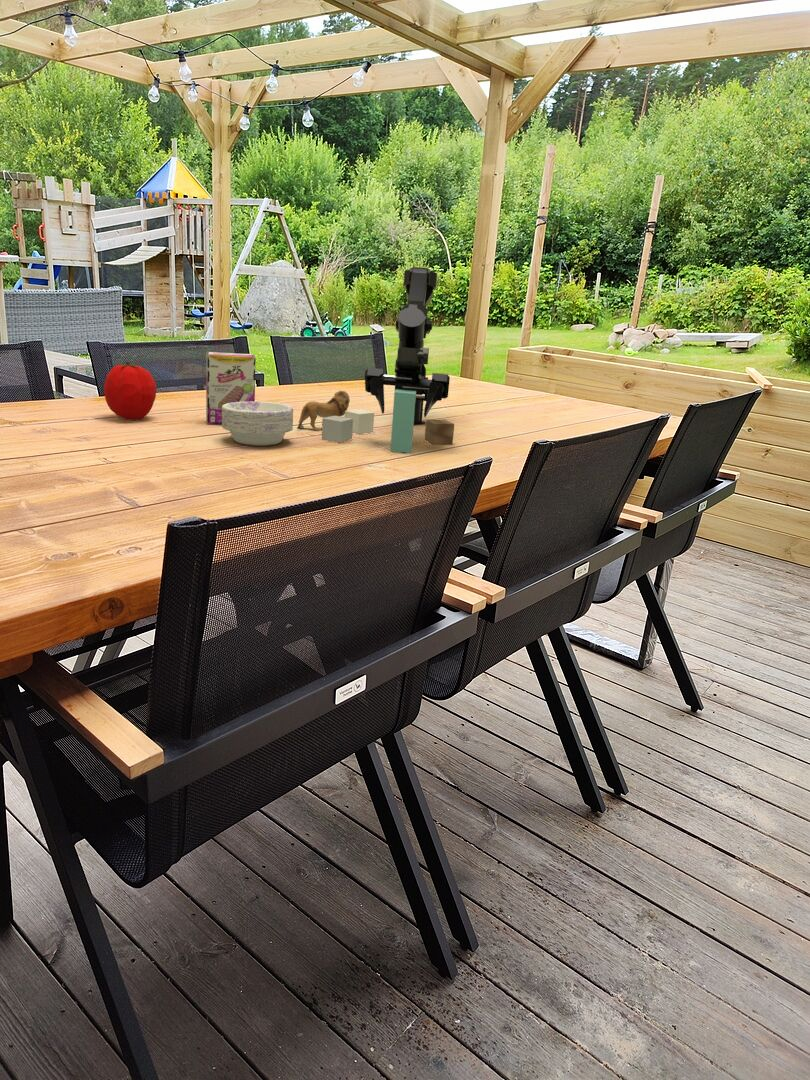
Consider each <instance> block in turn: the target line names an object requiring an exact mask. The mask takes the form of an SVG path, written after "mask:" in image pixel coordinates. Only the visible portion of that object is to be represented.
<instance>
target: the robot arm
mask: <svg viewBox="0 0 810 1080" xmlns="http://www.w3.org/2000/svg"><path fill="white" fill-rule="evenodd" d="M403 274H404V275H403V288H406V289H405V291H406V292H405V293H406V298H407V302H406V304H404V305H403V306H402V307H401V310H400V312H399V314H398V315H397V317H396V320H395V331H396V332H398V339H399V340H398V348H397V355H396V360H395V363H394V373H395V375H389V374H384V368H377V367H375V368H374V367H368V368H367V369H366V370H365V372H364V388H365V392H366V393H370V395H371V396H373V397H375V398H376V400H377V401H378V405H379V407H380V412H381V414H384V413H385V387H384V386H394V391H395V390H396V389H399V390H411V391H416V400H415V413H414V425H422V424H424V425H425V424H426V420H423V417H424V418H426V417H427V415H428V414H429V412H430V410H431V409H432V407H434V405H435V404H436V403H437V402H438V401H439V402H441V401H442V400H443V399H444V400H445V399H447V398H448V397H449V391H450V389H449V388H450V382H451V381H450V375H449V374H448V373H438V372H436V373H435V372H432V375H431V379H429V377H427V368H426V367H425V366H426V365H428V364H429V354H430V353H429V352H430V348H429V347H425V346H424V345H425V341H424V340H425V339H426V338H427V335H430V333H431V330H432V331H433V323H432V320H431V318H429V314H428V313H429V308H427V306H428V305H429V304H430V302H431V301H432V300H433V297H434V291H436V290H437V285H438V284H437V282H438V273H437V272H436V271H433V270H431V269H429V268H428V267H422V266H421V267H419V266H418V267H417V266H413V267H409V269H405V270H404V273H403ZM424 402H425V404H424ZM423 409H424V410H423ZM423 411H424V412H423Z"/></svg>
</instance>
